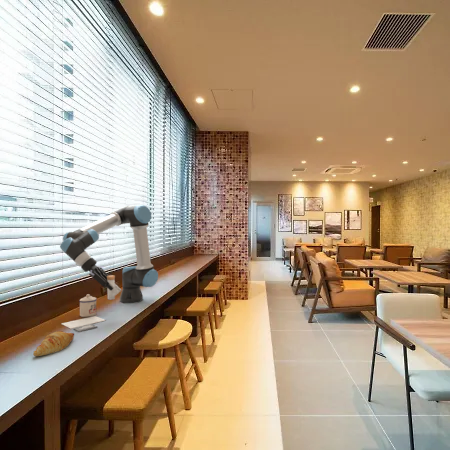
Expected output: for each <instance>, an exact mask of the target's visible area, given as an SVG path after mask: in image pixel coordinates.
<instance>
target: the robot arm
mask: <svg viewBox="0 0 450 450" xmlns="http://www.w3.org/2000/svg"><path fill="white" fill-rule="evenodd" d="M151 212H152V211H151V210H150V208H149V207H148V206H146V205H142V204H136V205H135V204H134V205H126V206H123V207H120V208H118V209H115V210H114V211H112V212H110V214H108V215H107V216H105V217H103V218H100V219H98V220H96V221H94V222H92V223H90V224H89V223H88V225H85V226H83V227H81V228H79V229H77V230H74V231H69V232H66V233H65V234H64V235H63V236H62V242H61V243H60V245H59V248H60V249H61V250H62V252H64V253H65V254H66V255H67V256H68V257H69V258H70V259H71V260H72V261H73V262H74V263H75V265H77V266H78V267H80V268H81V269H82V271H83V272H85V273H87V272H89V274H88V275H89V276H90V277H92V278H93V279H94V280H95V281H96V282H97V283H99V285H101V286H102V287H103V288H104V289H107V288H108V289H109V290H110V291H111V292H112V293H113V294H114V295H115V297H116V296H117V295H118V294H119V293H120V295H119V296H120V297H119V301H120V302H121V303H127V304H128V303H130V304H131V303H138V302H141V301H143V300H144V296H143V292H142V290H141V287H143V288H152V287H154V286H155V285H156V284H157V282H158V280H159V272H158V271H157V270H156V269H155V268H154V267H155V266H154V265H153V264H152V263H151V255H150V246H149V245H150V244H149V236H148V229H147V228H148V226H149V223H150V221H151V220H152V213H151ZM125 224H129V227H130V228H131V229H132V231H133V240H134V241H133V242H134V249H135V255H136V256H135V257H136V264H137V265H135V266H128V267H127V266H126V267H123V268H122V273H121V274H122V275H121V276H122V282H121V283H122V289H121V288H120V286H118V285H117V284H116V283H115V287H114V286H113V285H112V284H111V283H110V284H109V282H108V281H107V276H110V275H109V274H108V273H107V271H105V270H104V269H103V268H102V267H99V266H97V260H95V258H93V257H92V256H91V254H89V252H87V251H86V249H87V248H89V247H91V246H92V245H93V244H95V243H96V242H97V241H98V240H99V239H100V236H99V234H102V233H103V232H105V231H107V230H110V229H111V228H113V227H115V226H116V227H119V226H121V225H125Z"/></svg>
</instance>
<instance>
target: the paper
mask: <svg viewBox="0 0 450 450" xmlns="http://www.w3.org/2000/svg"><path fill="white" fill-rule="evenodd" d="M106 321H107V319H103V318H101V317H98V316H96V315H94V316H90V317H83V318H80V319H76V320H70V321H68V322H62V323H61V325H62V326H64V327H66V328H67V329H68V328H69V329H70V330H72V329H73V330H74V328H77V327H81V326H85V325H90V324H93V325H95V324H96V323H97V324H98V323H101V322H106Z"/></svg>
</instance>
